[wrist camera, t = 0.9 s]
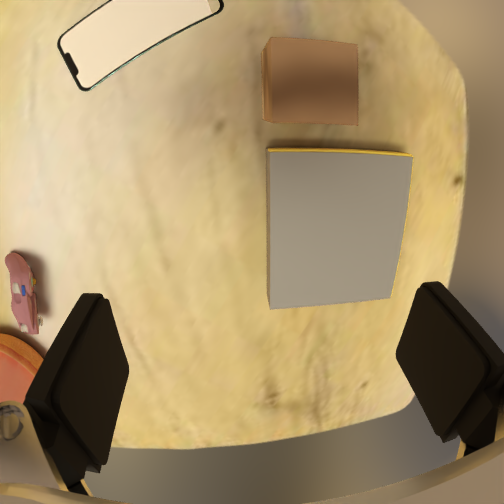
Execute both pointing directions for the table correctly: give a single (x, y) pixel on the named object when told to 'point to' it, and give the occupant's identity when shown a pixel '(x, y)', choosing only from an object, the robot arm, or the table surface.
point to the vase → (16, 368)
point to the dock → (334, 224)
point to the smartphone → (124, 34)
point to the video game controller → (23, 294)
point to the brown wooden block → (309, 81)
